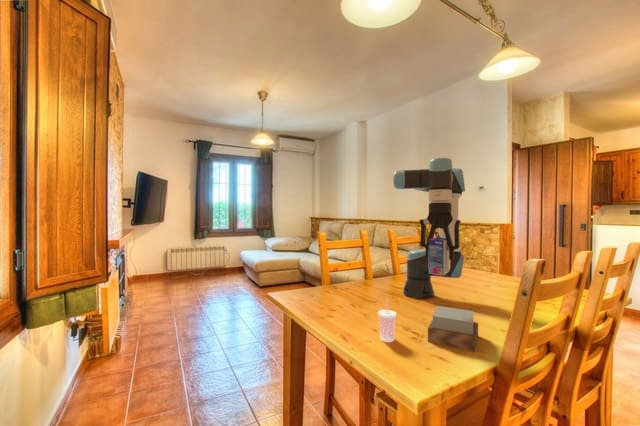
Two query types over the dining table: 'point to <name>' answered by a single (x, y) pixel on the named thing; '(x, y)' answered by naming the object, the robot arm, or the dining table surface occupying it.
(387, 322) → the beverage cup
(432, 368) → the dining table surface
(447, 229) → the robot arm
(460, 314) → the grey top slab
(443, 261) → the ink cartridge box
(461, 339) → the walnut base slab
